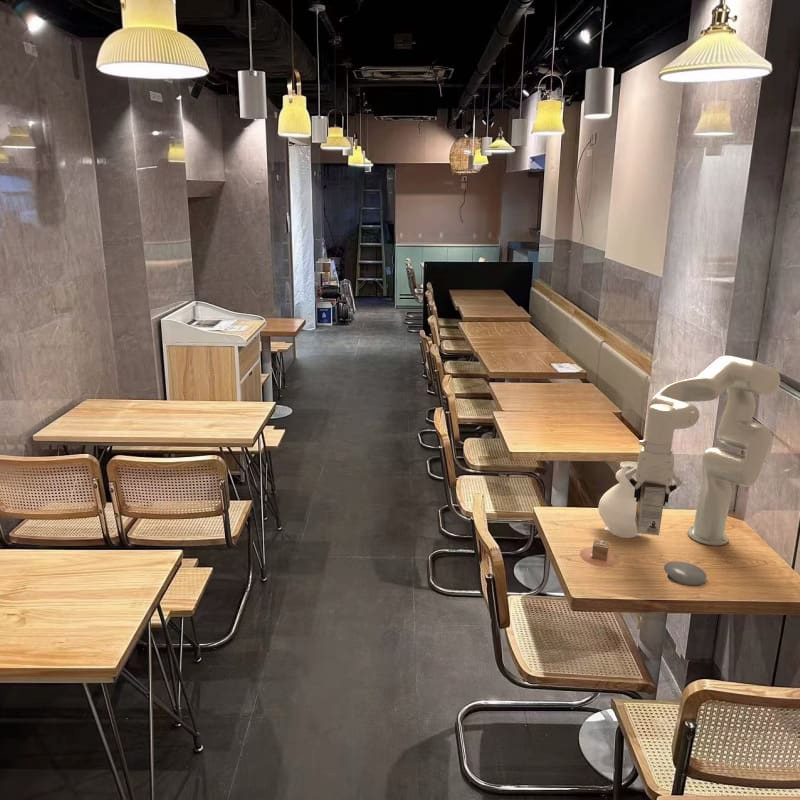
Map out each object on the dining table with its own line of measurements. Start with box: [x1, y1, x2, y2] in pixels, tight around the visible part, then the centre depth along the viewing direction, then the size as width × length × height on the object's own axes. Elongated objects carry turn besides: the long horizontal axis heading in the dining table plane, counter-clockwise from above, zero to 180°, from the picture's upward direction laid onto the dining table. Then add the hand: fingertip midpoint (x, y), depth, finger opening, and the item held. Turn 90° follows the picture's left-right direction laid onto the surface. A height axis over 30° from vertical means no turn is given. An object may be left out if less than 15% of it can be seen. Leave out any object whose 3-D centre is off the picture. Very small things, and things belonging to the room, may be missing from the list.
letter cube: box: [592, 538, 610, 561], centre depth 216 cm, size 4×4×5 cm
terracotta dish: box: [579, 546, 620, 567], centre depth 217 cm, size 12×12×1 cm
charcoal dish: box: [663, 561, 707, 587], centre depth 210 cm, size 12×12×1 cm
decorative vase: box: [597, 461, 643, 539], centre depth 231 cm, size 18×18×25 cm
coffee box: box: [635, 482, 666, 536], centre depth 208 cm, size 9×6×16 cm
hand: (650, 501), depth 207 cm, fingers closed on coffee box, 6 cm apart
